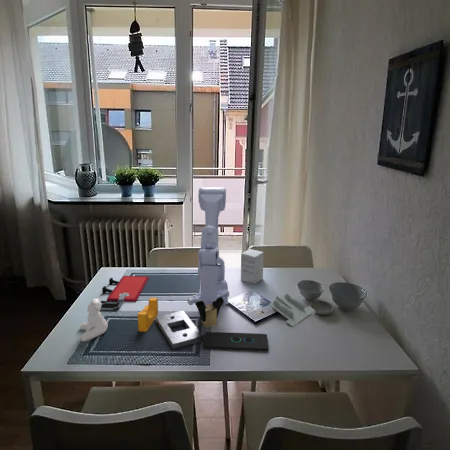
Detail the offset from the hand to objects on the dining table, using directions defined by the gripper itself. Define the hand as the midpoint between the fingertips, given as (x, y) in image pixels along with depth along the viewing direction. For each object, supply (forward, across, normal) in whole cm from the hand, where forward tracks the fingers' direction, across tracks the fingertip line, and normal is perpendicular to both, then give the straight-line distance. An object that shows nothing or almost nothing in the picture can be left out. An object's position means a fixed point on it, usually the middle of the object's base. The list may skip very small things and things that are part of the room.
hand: (208, 318), depth 127 cm
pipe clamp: (+2, -19, +10) cm, 22 cm away
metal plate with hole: (+2, -11, 0) cm, 11 cm away
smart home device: (+2, +3, -14) cm, 15 cm away
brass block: (+2, 0, 0) cm, 2 cm away
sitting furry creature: (+2, -36, +11) cm, 38 cm away
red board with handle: (+2, -22, +36) cm, 42 cm away
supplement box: (+2, +32, +25) cm, 41 cm away
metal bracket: (+2, +30, -6) cm, 30 cm away
